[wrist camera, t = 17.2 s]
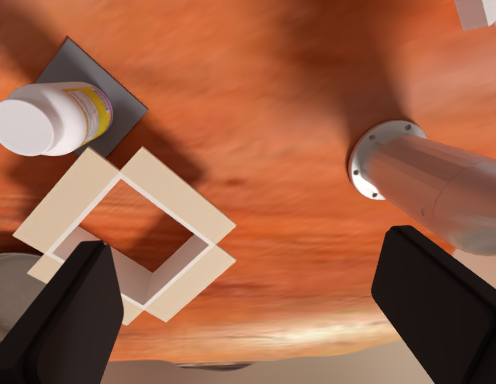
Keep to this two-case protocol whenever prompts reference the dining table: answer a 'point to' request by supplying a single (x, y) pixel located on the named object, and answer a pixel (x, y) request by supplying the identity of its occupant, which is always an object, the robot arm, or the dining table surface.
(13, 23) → the dining table surface
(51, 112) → the supplement bottle
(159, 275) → the carton
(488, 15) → the pixel art tile
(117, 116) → the coaster mat
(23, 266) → the plant saucer
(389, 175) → the robot arm
